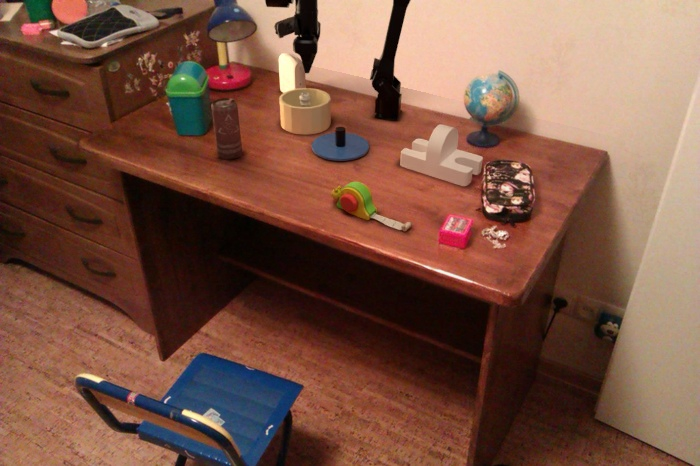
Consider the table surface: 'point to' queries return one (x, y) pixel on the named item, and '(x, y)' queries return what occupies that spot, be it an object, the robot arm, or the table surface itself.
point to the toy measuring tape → (363, 204)
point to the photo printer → (291, 72)
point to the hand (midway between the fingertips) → (308, 66)
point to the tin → (305, 111)
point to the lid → (340, 145)
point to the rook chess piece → (305, 99)
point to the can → (227, 128)
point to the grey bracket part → (442, 157)
